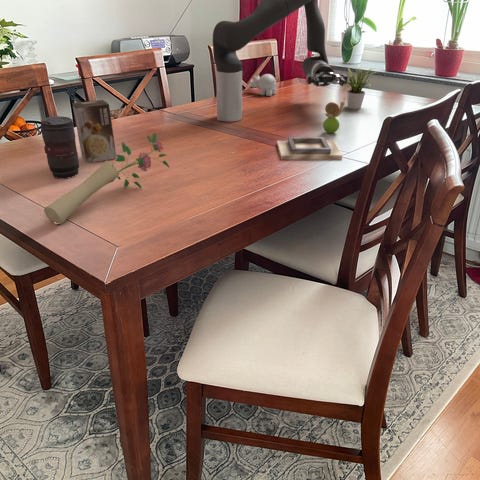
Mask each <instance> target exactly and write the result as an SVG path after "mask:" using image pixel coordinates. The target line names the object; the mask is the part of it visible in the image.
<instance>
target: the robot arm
mask: <svg viewBox="0 0 480 480" xmlns="http://www.w3.org/2000/svg"><path fill="white" fill-rule="evenodd" d="M302 7H304V13H305V19H306V21H305V22H306V49H307V51H308V52H312V53H317V54H318V55H316V56H307V57H305V58H304V59H303V61H302V65H301V66H302V68H301V69H302V71H303V73H304V74H305V76H306V82H307V85H314V86H316V87H327V86H329V85H338V84H339V85H340V86H341V87H344V86H345V85H348V83H347V82H348V81H349V80H348V79H349V75H347V74H346V73H345V72H341V73H340V74H339V73H335V71H334V69H333V68H332V66H330V64H329V60H328V59H329V58H328V56H327V53H326V42H325V41H326V29H325V28H326V27H325V23H324V19H323V16H322V14H321V11H320V9H319V8H320V7H319V4H318V0H261V1H260V2H259V3H258V5H257V6H256V8H255V9H254V11H252V13H251V14H250V15H248V16H246V17H244V18H242V19H240V20H238V21H230V20H221V21H219V22H217V23H216V25H215V26H214V29H213V31H212V32H213V33H212V51H213V62H214V64H215V68H216V69H215V71H216V72H215V73H216V121H221V122H237V121H241V120H242V119H243V62H242V61H241V60H240V59H239V57H238V55H237V52H238V51H240V50H242V49H243V48H245V47H246V46H247V45H248V44H249V43H250V42H252V41H253V40H254V39H255V38H256V37H258V36H259V35H260V34H261V33H264V32H265V31H267V30H269V28H271V27H273V26H274V25H277V24H278V23H279V22H281V21H283V20H284V19H286V18H287V17H288V16H290V15H291V14H293V13H294V12H296V11H297V10H299V9H300V8H302Z"/></svg>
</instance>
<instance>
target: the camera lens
mask: <svg viewBox="0 0 480 480" xmlns="http://www.w3.org/2000/svg"><path fill="white" fill-rule="evenodd" d="M74 126H75V125H74V123H73V120H72V118H70V117H67V116H62V115H61V116H49V117H48V116H47V117H45V118H43V119H41V120H40V130H41V135H42V136H41V137H42V139H43V140H42V141H43V142H44V153H45V154H46V161H47V165H48V168H49V171H50V172H51V173H52V176H53V178H55V177H57V178H56V179H60V178H64V179H69V178H68V177H71V178H73V177H72V176H74V177H76V176H77V175H78V174H79V168H80V163H79V162H80V161H79V154H78V149H77V142H76V133H75V127H74ZM75 175H76V176H75Z"/></svg>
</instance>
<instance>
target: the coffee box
mask: <svg viewBox="0 0 480 480" xmlns="http://www.w3.org/2000/svg"><path fill="white" fill-rule="evenodd" d="M71 104H72V109H73V113H74V119H75V126H76V131H77V137H78V141H79V143H78V144H79V149H80V155H81V158H82V159H83V161H84V162H85V164H90V162H91V163H95V162H96V161H97V162H102V161H106V160H107V161H109V160H113V159H114V160H116V159H117V158H118V157H117V156H116V155H117V150H116V143H115V137H114V130H113V129H114V128H113V123H112V116H111V108H110V104H109V103H108V102H107V101H106V100H105V99H99V100H98V99H97V100H91V101H90V100H89V101H88V100H87V101H81V102H73V103H71Z"/></svg>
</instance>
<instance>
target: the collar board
mask: <svg viewBox="0 0 480 480" xmlns="http://www.w3.org/2000/svg"><path fill="white" fill-rule="evenodd" d="M276 145H277V149H278V153H279V156H280V159H281V160H343V154H342V152H341V151H340V149H339V147H338V146H337V144H336V142H335V141H334V140H326V138H325V137H323V136H319V137H317V136H312V137H310V136H307V137H306V136H305V137H303V136H296V137H295V136H293V137H292V136H291V137H288V138H287V140H276Z"/></svg>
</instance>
